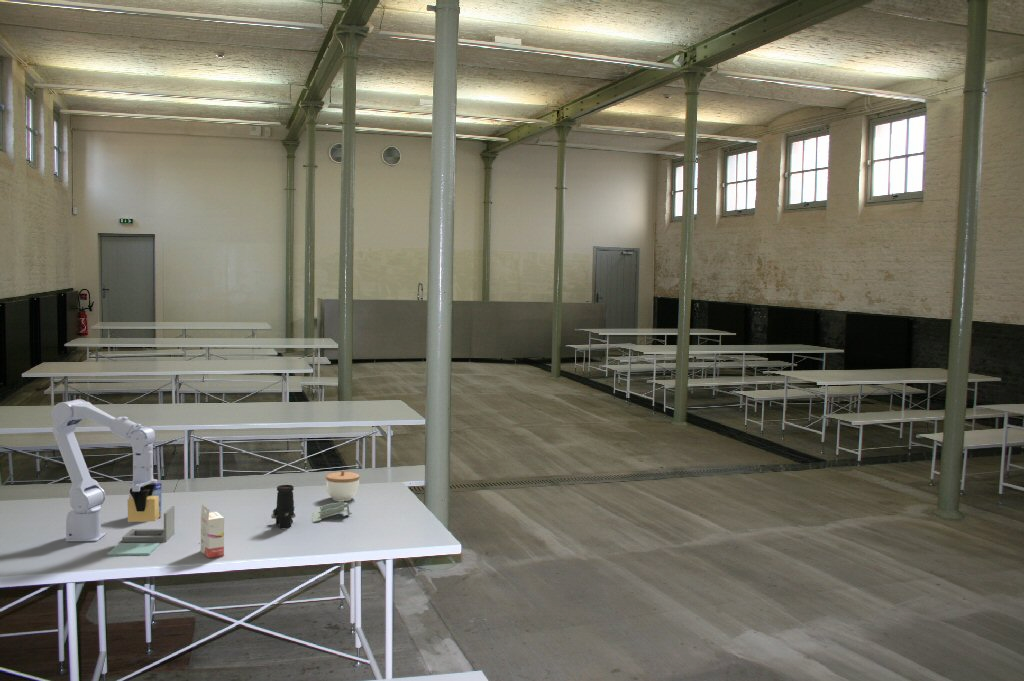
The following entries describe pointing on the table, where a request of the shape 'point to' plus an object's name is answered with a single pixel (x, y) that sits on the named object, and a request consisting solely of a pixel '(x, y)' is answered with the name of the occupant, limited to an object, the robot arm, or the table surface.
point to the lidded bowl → (342, 485)
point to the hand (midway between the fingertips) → (143, 509)
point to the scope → (284, 506)
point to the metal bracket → (330, 510)
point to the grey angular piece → (153, 531)
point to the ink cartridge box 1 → (155, 493)
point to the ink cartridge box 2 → (212, 533)
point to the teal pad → (133, 549)
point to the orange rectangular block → (148, 514)
